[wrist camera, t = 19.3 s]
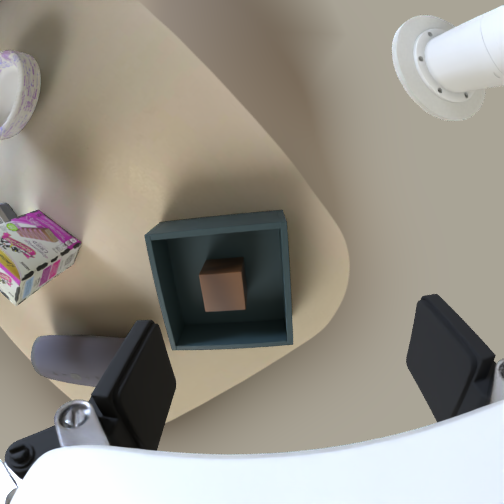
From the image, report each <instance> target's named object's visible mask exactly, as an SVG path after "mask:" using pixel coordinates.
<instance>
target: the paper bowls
mask: <svg viewBox="0 0 504 504" xmlns="http://www.w3.org/2000/svg"><path fill="white" fill-rule="evenodd" d="M40 88H41V75H40V69H39V66H38V63H37V62H36V60H35V59H34V58H33V57H32V56H31V55H29V54H26V53H22V52H18V51H14V50H5V51H2V52H0V139H6V138H10V137H12V136H14V135H16V134H17V133H19V132H20V131H21V130H22V129H23V128H24V127H25V125H26V124H27V123H28V121H29V120H30V118H31V116H32V114H33V111H34V110H35V107H36V104H37V101H38V98H39V93H40Z"/></svg>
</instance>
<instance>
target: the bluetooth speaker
mask: <svg viewBox="0 0 504 504" xmlns="http://www.w3.org/2000/svg"><path fill="white" fill-rule="evenodd" d="M124 340H125V338H116V337H103V336H93V335H48V336H40V337H38V338H37V339H36V340H35V342H34V344H33V346H32V351H31V361H32V365H33V367H34V369H35V371H36V372H37V373H38V374H40V375H41V376H44V377H46V378H50V379H53V380H57V381H62V382H67V383H72V384H78V385H85V386H93V387H96V386H97V384H98V382H99V381H100V379H101V377H102V376H103V374H104V372H105V371H106V369H107V367H108V366H109V364H110V362H111V361H112V359H113V357H114V356H115V354H116V352H117V351H118V349H119V348H120V346H121V344H122V343H123V341H124Z"/></svg>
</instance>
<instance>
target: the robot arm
mask: <svg viewBox="0 0 504 504" xmlns="http://www.w3.org/2000/svg"><path fill="white" fill-rule="evenodd" d="M413 55H414V62H415V65H416V69H417V71H418V73H419V75H420V77H421V79H422V80H423V82H424V83H425V84H426V86H427V87H428V88H429V89H430V90H431V91H432V92H433V93H434V94H435V95H437V96H438V97H439V98H441V99H443V100H445V101H448V102H452V103H459V102H464V101H467V100H468V99H470V98H471V97H472V96H473V94H474V93H475V90H478V89H485V88H492V87H499V86H504V5H502V6H500V7H498V8H496V9H494V10H491V11H489V12H487V13H485V14H482V15H480V16H478V17H475V18H473V19H471V20H469V21H467V22H465V23H463V24H461V25H459V26H457V27H455V28H453V29H451V30H449V31H444V30H441V29H430V30H427V31H425V32H423V33H421V34H420V35H419V36H418V38H417V39H416V41H415V44H414V51H413ZM494 358H495V354H494V353H493V352H492V351H491V350H490V349H489V347H488V346H487V345H486V344H485V343H484V342H483V341H482V340H481V339H480V338H479V336H478V335H477V334H475V332H474V331H473V330H472V329H471V328H470V327H469V326H468V325H467V324H466V323H465V322H464V320H462V318H461V317H460V316H459V315H458V314H457V313H456V312H455V311H454V310H453V309H452V308H451V307H450V306H449V305H448V304H447V303H446V302H445V301H444V300H443V299H442V298H441V297H440V296H439V295H437V294H432V295H427V296H423V297H422V298H421V300H420V301H418V303H417V307H416V313H415V319H414V324H413V329H412V335H411V340H410V344H409V349H408V353H407V359H406V363H407V366H408V369H409V371H410V372H411V374H412V376H413V378H414V379H415V381H416V383H417V385H418V387H419V388H420V390H421V392H422V394H423V396H424V398H425V400H426V401H427V403H428V405H429V407H430V409H431V411H432V413H433V415H434V417H435V418H436V421H437V423H435V424H431V425H428V426H425V427H421V428H418V429H414V430H411V431H407V432H403V433H399V434H395V435H391V436H387V437H382V438H378V439H373V440H369V441H363V442H358V443H353V444H347V445H341V446H334V447H328V448H321V449H312V450H304V451H293V452H281V453H265V454H196V453H179V452H164V451H157V448H158V445H159V441H160V437H161V435H162V431H163V428H164V425H165V422H166V418H167V415H168V412H169V408H170V405H171V402H172V399H173V396H174V392H175V389H176V379H175V376H174V373H173V370H172V367H171V364H170V360H169V357H168V354H167V351H166V347H165V344H164V341H163V337H162V334H161V330H160V327H159V325H158V324H155V323H154V321H153V320H137V321H136V322H135V324H134V325H133V327H132V329H131V330H130V332H129V333H128V335H127V336H126V338H125V340H124V341H123V343H122V344H121V346H120V348H119V349H118V351H117V352H116V354H115V356H114V357H113V359H112V361H111V362H110V364H109V366H108V367H107V369H106V371H105V372H104V374H103V376H102V377H101V379H100V381H99V382H98V384H97V386H96V387H95V389H94V391H93V392H92V394H91V398H90V400H89V402H88V401H85V400H73V401H69V402H67V403H65V404H64V405H62V406H61V407H60V408H59V409H58V410H57V412H56V414H55V417H54V422H55V425H54V426H52V427H50V428H48V429H45V430H43V431H40V432H38V433H36V434H33V435H31V436H28V437H25V438H23V439H21V440H18V441H16V442H14V443H13V444H12V445H11V446H10V447H9V448H8V449H7V451H6V454H5V462H4V463H3V462H2V461H1V460H0V504H504V359H502V360H500V361H498V363H497V364H496V363H495V362H494Z"/></svg>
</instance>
